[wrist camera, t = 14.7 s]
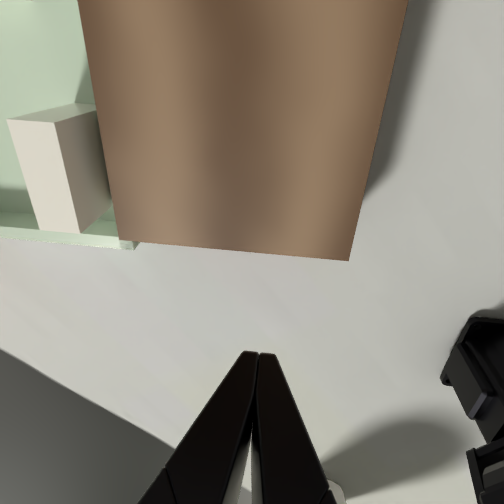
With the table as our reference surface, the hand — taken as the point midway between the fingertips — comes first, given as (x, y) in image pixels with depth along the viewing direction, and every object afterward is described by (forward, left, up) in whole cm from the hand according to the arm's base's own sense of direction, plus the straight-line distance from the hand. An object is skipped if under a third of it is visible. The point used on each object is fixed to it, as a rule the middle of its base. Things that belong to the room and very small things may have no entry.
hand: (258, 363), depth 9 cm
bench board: (+2, -6, -13) cm, 14 cm away
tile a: (+9, -2, -10) cm, 13 cm away
